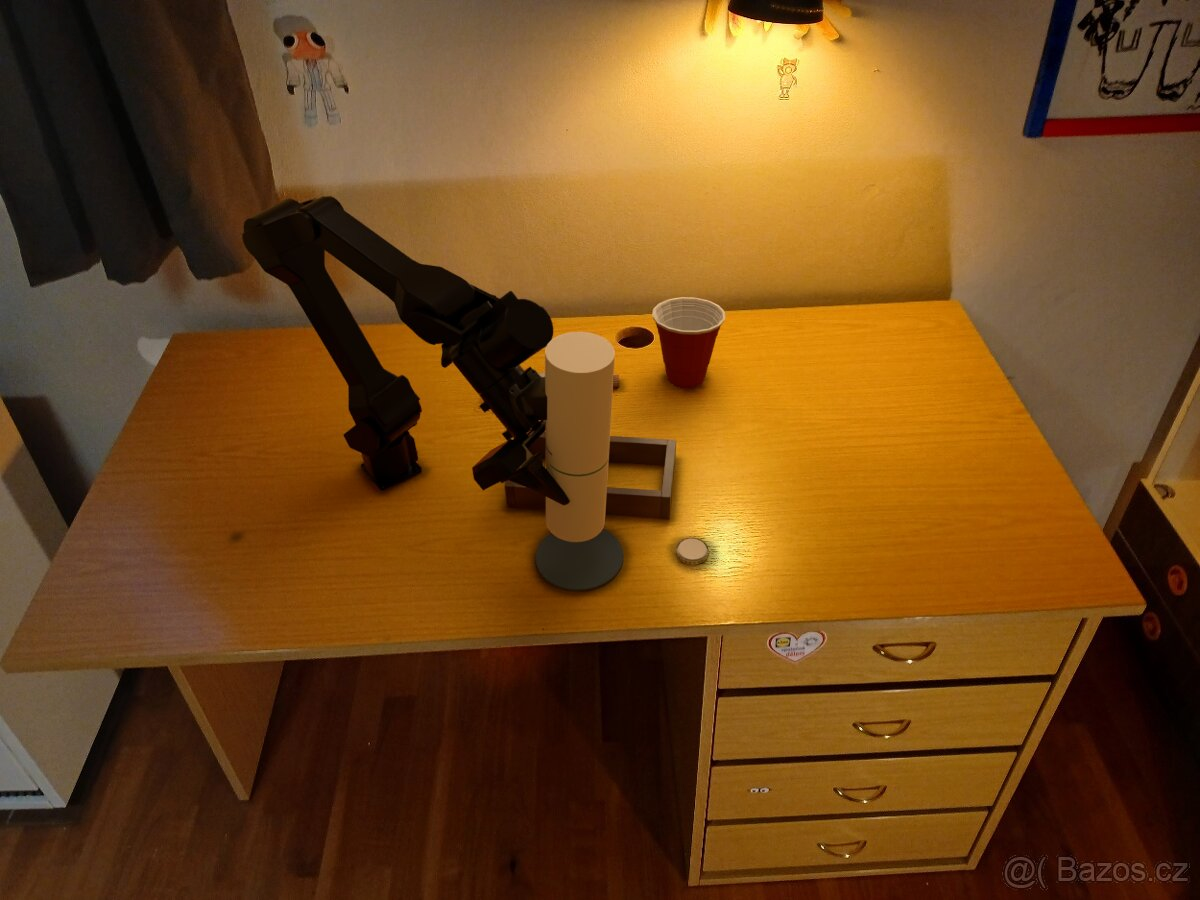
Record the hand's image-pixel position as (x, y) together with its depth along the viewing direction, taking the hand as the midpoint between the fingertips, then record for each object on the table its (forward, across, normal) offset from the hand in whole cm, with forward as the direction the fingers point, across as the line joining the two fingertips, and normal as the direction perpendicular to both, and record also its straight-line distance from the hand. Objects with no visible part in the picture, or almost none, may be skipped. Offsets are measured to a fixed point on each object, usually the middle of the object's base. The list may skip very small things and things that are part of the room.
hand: (583, 485), depth 105 cm
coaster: (+8, 0, +10) cm, 13 cm away
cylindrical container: (+4, 0, +6) cm, 7 cm away
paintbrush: (-7, +26, +26) cm, 38 cm away
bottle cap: (+17, +8, +2) cm, 18 cm away
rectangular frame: (+4, +12, +14) cm, 19 cm away
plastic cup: (+4, +40, +15) cm, 43 cm away
